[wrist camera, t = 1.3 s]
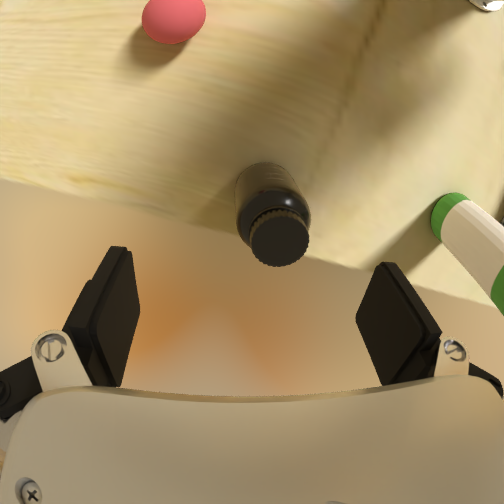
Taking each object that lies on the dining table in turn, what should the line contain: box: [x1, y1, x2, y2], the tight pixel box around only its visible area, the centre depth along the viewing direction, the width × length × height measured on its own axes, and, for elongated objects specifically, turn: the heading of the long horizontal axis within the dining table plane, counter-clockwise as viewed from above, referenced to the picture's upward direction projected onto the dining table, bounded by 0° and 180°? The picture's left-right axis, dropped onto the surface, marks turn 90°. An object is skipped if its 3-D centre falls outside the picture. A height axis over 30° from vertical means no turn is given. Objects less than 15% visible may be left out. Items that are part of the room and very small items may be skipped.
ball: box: [142, 0, 206, 44], centre depth 20 cm, size 6×6×6 cm
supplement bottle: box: [235, 163, 311, 267], centre depth 28 cm, size 7×7×12 cm
